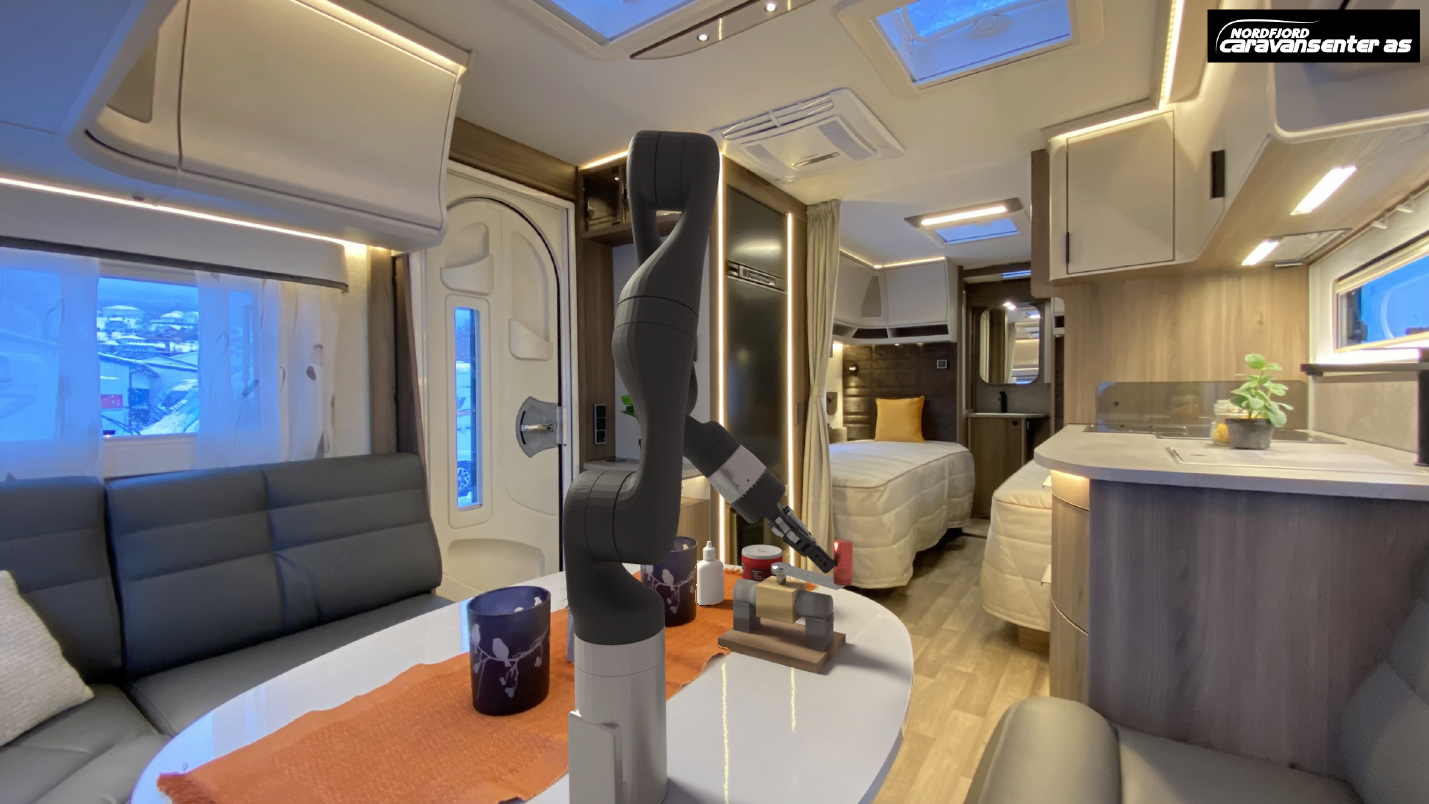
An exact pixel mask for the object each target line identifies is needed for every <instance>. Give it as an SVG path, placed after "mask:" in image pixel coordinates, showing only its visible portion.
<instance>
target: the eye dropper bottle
mask: <svg viewBox="0 0 1429 804" xmlns="http://www.w3.org/2000/svg"><path fill="white" fill-rule="evenodd" d="M716 553H717V551H716V547H714V546H713V545H712V540H708V541H706V546H705V547H704V548H702V556H703V557H702V558H703V559H702V560H700V561H699V562H698V563H697V564H696V565H697V584H696V586H697V603H698V604H699V605H698V604H697V603H696V604H697V605H698V606H700V605H706V604H714V603H719V602H721V601H723V600H725V571H724V570H725V569H724V567H725V566H724V563H723V562H722V561H721V560H720V559H717V558H716V557H717V554H716ZM723 602H724V601H723ZM721 603H722V602H721ZM719 604H720V603H719Z"/></svg>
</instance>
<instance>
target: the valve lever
mask: <svg viewBox="0 0 1429 804" xmlns="http://www.w3.org/2000/svg"><path fill="white" fill-rule="evenodd" d="M853 544H854V543H853V541H852V540H850V539H845V538H844V539H843V538H842V539H841V538H840V539H834V540H833V541H832V559H833V560H834V562H835V566H834V568H832V570H833V572H832V574H833V575H832V576H830V575H828V574H827V575H826V574H825V573H823V574H822V573H820V572H815V571H812V570H809V569H806V568H801V567H798V566H795V565H792V564H791V563H790V562H789V563H788V562H777V563H773V564H771V573H772V574H774V575H776V582H777V583H786V578H787V577H791V578H793V579H794V578H795V579H796V580H799V581H804V582H807V583H811V584H814V585H817V586H819V587H820V586H821V587H824V588H828V589H830V590H834V591H839V590H840V589H843V588H845V587H846V586H852V585H853V584H854V560H853V559H854V553H853V551H854V548H853V546H854V545H853Z"/></svg>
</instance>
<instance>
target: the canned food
mask: <svg viewBox="0 0 1429 804" xmlns="http://www.w3.org/2000/svg"><path fill="white" fill-rule="evenodd" d="M783 556H784V555H783V549H782V548H780V547H779V546H775V545H768V544H751V545H748V546H745V547H743V548H742V550H741V574H742V575H741V578H742V579H747V580H752V581H758V582H762V581H764V580H765V579H767V578H769V577H771V576H776V575H774V574H772V573H771V564H773V563H777V562H783V561H784V558H783Z"/></svg>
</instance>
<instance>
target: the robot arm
mask: <svg viewBox="0 0 1429 804" xmlns="http://www.w3.org/2000/svg"><path fill="white" fill-rule="evenodd" d="M719 150H720V149H719V145H718V144H717V142H716V140H715V139H714V137H712V136H711V135H708V134H705V133H700V132H693V131H691V132H689V131H676V130H675V131H674V130H656V129H655V130H654V129H653V130H652V129H651V130H650V129H648V130H647V129H645V130H644V129H643V130H638V131H636V132H635V133H634V135H633V136H632V137H631V139H630V142H629V145H628V149H627V156H626V185H627V186H626V187H627V198H628V206H629V214H630V221H631V231H632V238H633V240H632V241H633V246H634V255H635V260H636V261H635V263H636V267H637V270H635V272H634V273H633V274H632V276H630V278H629V279H628V281H627V282H626V284H625V285H624V286H623V289H622V290H621V292H620V295H619V299H618V303H617V309H616V315H615V320H614V327H613V332H612V339H611V352H612V358H613V361H614V365H615V368H616V371H617V372H618V375H619V377H620V379H621V382H622V383H623V386H624V387H625V389H626V392H627V395H629V397H630V400H631V402H632V405H633V413H634V416H635V419H636V421H637V423H638V424H639V428H640V455H639V461H638V462H639V463H638V467H637V468H638V469H637V470H622V469H619V470H618V469H589V470H585V471H582V472H581V473H579V474H578V475H577V476H576V477H575V478H574V479H573V480H572V482H571V484H570V485H569V487H568V490H567V492H566V496H565V499H564V504H563V509H562V510H563V511H562V522H561V525H562V528H561V529H562V546H563V556H564V557H563V559H564V569H565V571H564V573H565V585H566V586H565V588H566V589H565V590H566V599H567V600H566V601H567V605H568V608H569V611H570V614H571V615H572V619H573V649H574V651H573V652H574V654H573V658H574V659H573V660H574V661H573V662H574V663H573V664H574V665H573V666H574V670H573V671H574V709H573V710H571V711H569V712H568V713H567V741H568V743H567V744H568V745H567V748H568V750H567V751H568V754H567V755H568V757H567V758H568V795H569V796H568V801H569V804H662V803H663V802H664V800H665V797H666V795H667V793H668V751H667V750H668V748H667V747H668V746H667V689H666V688H667V684H666V682H667V681H666V677H667V676H666V624H665V623H666V620H665V619H666V617H665V616H666V615H665V614H666V613H665V612H666V610H665V609H666V608H665V601H664V599H663V597H662V596H661V593H660V592H658V591H657V590H656V589H654V588H652V587H651V586H649V585H647V584H645V582H644V583H643V582H642V581H641V580H639V579H638V578H637V577H636V576H634V575H632V573H631V572H629V570H628V569H627V568H626V567H625V566H624V564H629V565H638V566H640V565H641V566H658V565H660V564H662V563H663V562H664V561H666V560H667V559H668V558H669V555H670V554H671V553H672V550H673V547H674V546H675V542H676V540H677V539H676V538H677V535H678V531H679V522H680V515H681V505H682V504H681V503H682V491H683V489H682V487H683V486H682V485H683V484H682V483H683V464H684V463H683V462H684V461H683V459H684V458H685V459H687V460H688V461H689V462H690V463H691V464H692V466H693V467H695V468H696V470H698V472H700V473H701V474H702V475H703V476H704V477H705V478H706V479H707V480H708V481H709V483H710V484H711V485H712V487H713V488H714V489H715V490H716V492H717V493H718V494H719V495H720V496H721V497H722V498H723V499H724V500H725V501H726V502H727V503H728V504H729V505H730V506H731V507H732V508H733V509H734V510H735V511H736V512H737V513H738V514H739V515H740V516H741V517H742V518H743V519H744V520H745V521H746V522H747V523H749V524H756V523H757V522H759V521H761V519H762V518H765V519H767V521H768V525H769V529H770V530H771V531H772V533H773V534H774V535H776V536H778V537H780V538H781V539H782V541H783V543H785V544H787V545H788V546H789V547H791V548H792V549H793V550H794V551H795V552H797V553H798V554H799V555H800V556H801V557H803V558H808V559H809V560H810V561H811V562H812V563H813V564H814V565H815V566H816V567H817V568H818V569H819V570H820V571H821V572H822V573H823V574H824V575H826V574H828V573H829V572H831V571H832V570H833V568H834V566H835V562H834V560H833V557H831V556H830V555H829V554H828V553H827V552H826V551H825V550H824V549H823V548H822V547H821V545H819V544H818V542H817V539H816V538H815V537H813V534H812V532H810V530H809V529H808V528H807V525H806V524H805V523H804V522H803V521H802V520H801V518H799V517H798V516H797V515H796V514H795V511H794V510H793V509H792V508H791V506H790V505H788V504H786V505H785V506H783V505H782V504H781V503H780V502H779V501H782V500H781V499H782V498H783V496H784V495H785V493H786V490H787V488H786V486H785V485H784V484H783V483H782V481H780V480H779V478H777V476H775V474H774V473H773V472H771V470H769V468H767V466H766V465H765V464H764V463H763V462H761V460H760V459H759V458H758V457H757V456H755V454H753V453H752V452H751V450H749V449H747V448H745V446H743V445H742V444H741V443H740V442H739V441H738V440H737V439H736V438H735V437H734V436H733V435H732V434H731V433H730V432H729V431H728V430H727V429H726V428H725V427H724V426H723V425H722V424H720V423H719V422H718V421H715V420H709V421H705V422H701V421H699V420H698V419H695V418H694V417H693V416H691V413H692V412H693V411H694V409H695V408H696V405H697V401H698V396H699V395H698V393H699V386H698V378H697V374H696V372H697V371H696V368H695V363H694V356H695V350H696V342H697V336H698V327H699V319H700V318H699V317H700V308H701V307H700V306H701V296H702V283H703V275H704V273H703V272H704V265H705V257H706V251H707V246H708V245H707V244H708V241H709V235H710V229H711V224H712V219H713V213H714V209H715V204H716V199H717V193H718V189H719V188H718V187H719V180H720V173H721V157H720V151H719ZM658 211H661V212H663V211H664V212H679V213H680V215H679V217H678V220H677V221H676V223H675V226H674V228H673V229H672V231H671V232H670V234H669V235H668V236H667V237H666V239H665V240H664V242H663V241H662V239H661V234H660V232H659V231H660V230H659V227H658V220H657V219H658V218H657V212H658Z"/></svg>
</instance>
